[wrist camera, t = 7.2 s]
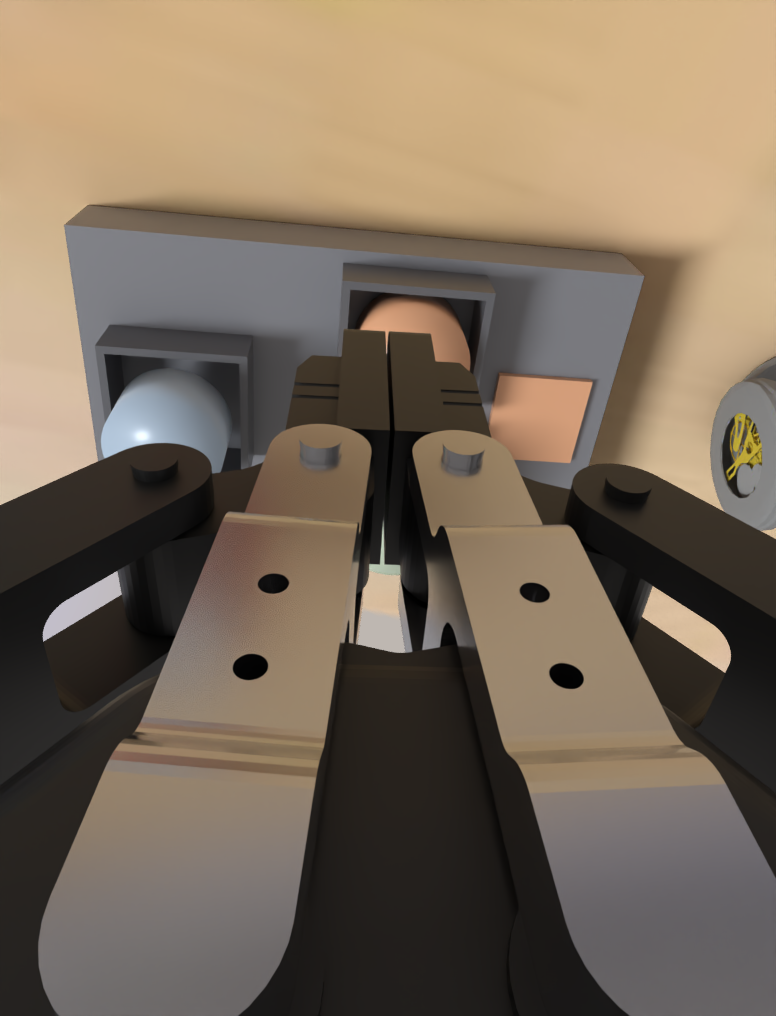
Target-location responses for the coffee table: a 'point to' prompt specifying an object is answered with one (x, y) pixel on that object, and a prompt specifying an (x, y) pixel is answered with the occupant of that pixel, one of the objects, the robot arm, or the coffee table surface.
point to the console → (347, 319)
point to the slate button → (170, 415)
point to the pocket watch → (747, 449)
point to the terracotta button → (419, 323)
